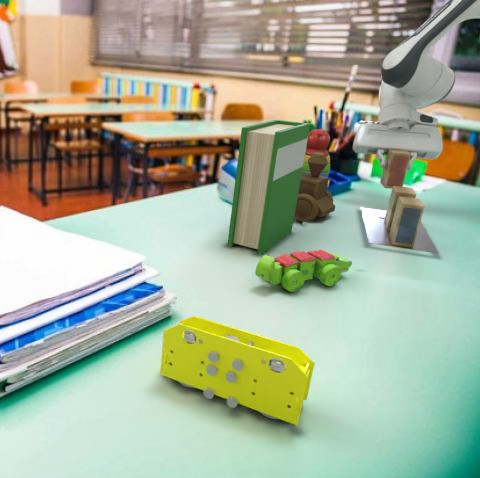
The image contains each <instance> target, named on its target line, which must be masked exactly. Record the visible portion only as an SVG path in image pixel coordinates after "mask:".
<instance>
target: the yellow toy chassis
mask: <svg viewBox="0 0 480 478" xmlns="http://www.w3.org/2000/svg"><path fill="white" fill-rule="evenodd" d="M160 360H161V361H160V373H159V375H161V376H163V377H166V378H168V379H172V380H175V381H176V382H178V383H179V384H180V385H182V386H184V387H186V388H189V389H199V390H201V391H203V396H204V397H205V398H206V399H208V400H212V399H213V398H214V396H217V397H220V398H222V399H224V400H226V404H227V406H228V407H230V408H232V409H234V408H236V407H237V406H238V405H241V406H244V407H246V408H250V409H252V410H254V411H257V412H259V413H260V415H262V416H264V417H266V418H268V419H270V420H271V419H273V420H281V421H284V422H287V423H288V424H292V425H295V426H299V422H300V419H301V418H300V417H301V412H302V409H303V405H304V401H307V400H308V396H309V391H310V385H311V381H312V377H313V372H314V367H315V362H314V360H313V359H312V358H311V357H310V356H308V354H306V353H305V351H303V350H302V348H300V346H296V345H293V344H289V343H286V342H282V341H280V340H277V339H273V338H270V337H265V336H262V335H259V334H256V333H253V332H250V331H246V330H243V329H240V328H236V327H233V326H230V325H227V324H223V323H219V322H217V321H214V320H210V319H206V318H204V317H200V316H197V315H194V316H191V317H187V318H185V319H181V320H179V322H178V324H175V325H173V326H170V327H168V328H166V329H164V330H163V336H162V348H161V359H160Z"/></svg>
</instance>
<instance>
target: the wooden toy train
mask: <svg viewBox="0 0 480 478" xmlns="http://www.w3.org/2000/svg"><path fill="white" fill-rule="evenodd" d="M307 161H308V165H309V168H310V172H311V174H308V173H303V172H302V174H301V180H300V186H299V192H298V198H297V203H296V209H295V215H294V220H295V221H297V222H300V223H304V222H306V223H310V222H313V221H314V220H316V218H317V217H319V218H320V217H321V218H323V217H325V216H326V215H329V214H331V213H333V212H334V211H335V209H336V205H335V203H334V198H333V195H332V193H331V192H330V191H329V190H328V186H329V179H330V178H329V177H328V178H326V177H322V176H319V175H320V174H321V173H322V171H323V170H324V168H325V167H326V165H327V164H328V160H327V158H326V156H325V154H324V153H314V154H313V155H312V156H311V157H310V158H309V159H308V160H307Z"/></svg>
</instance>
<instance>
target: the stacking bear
mask: <svg viewBox="0 0 480 478" xmlns="http://www.w3.org/2000/svg"><path fill="white" fill-rule="evenodd" d="M330 141H331V136H330V134H329V132H327V131H326V130H323V129H322V128H319V129H317V128H316V129H312V130H309V134H308V140H307V146H306V151H305V157H304V163H303V169H302V172H303V173H308V174H311V172H310V168H309V165H308V161H307V160H308V159H309V158H310V157H311V156H312V155H313V154H314V153H324V154H325V156H326V158H327V160H328V164H327V165H326V167H325V168H324V170H323V171H322V173H321V174H320V175H319V176H322V177H326V178H329V176H330V171H331V156H330V154H329V152H328V150H327V148H328V147H329V145H330Z"/></svg>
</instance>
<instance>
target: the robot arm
mask: <svg viewBox="0 0 480 478" xmlns="http://www.w3.org/2000/svg"><path fill="white" fill-rule="evenodd" d="M472 19H480V0H447V2H446V3H445V4H443V6H441V7H440V8H439V9H438V10H437V11H436V12H435V13H434V14H433V15H431V16H430V17H429V18H428V19H427V20H426V21H425V22H424V23H423V24H421V26H420V27H418V28H417V29H416V30H415V31H414V32H413V33H412V34H410V36H408V37H407V38H406V39H405V40H403V41H402V42H401V43H399V44H398V45H396V46H395V47H394V48H392V49H391V50H390V51H389V52H387V54H386V55H385V56H384V57H383V60H382V61H381V65H380V77H381V80H382V81H381V83H380V86H379V92H378V107H379V110H378V114H377V121H366V120H360V121H358V122H356V123H354V125H353V130H352V131H353V134H354V139H353V143H352V151H353V152H354V153H355V154H366V155H375V159H376V160H377V162H378V163H379V169H383V168H385V169H386V168H387V167H388V160H387V159H386V157H385V156H386V155H387V151H388V149H394V150H406V151H408V152H409V153H410V154H411V156H410V160H409V164H408V168H407V171H408V172H410V171H412V168H413V162H415V160H416V159H421V160H422V159H424V160H436V159H438V157H440V155H441V154H442V153H443V150H444V143H443V137H442V136H443V135H442V132H441V130H440V129H439V128H438V127H437V125H438V123H439V119H438V118H437V117H435V116H432V115H428V114H427V113H422V112H421V111H418V110H421V109H424V108H428V107H430V106H432V105H434V104H436V103H439V102H441V101H442V100H444V99H446V98H447V97H448V96H449V95H450V94H451V92H452V90H453V88H454V85H455V83H456V72H455V71H454V70H453V69H451V68H450V67H449V66H447V65H446V64H445V63H443V62H442V61H440V60H437V59H436V58H435V57H433V56H431V55H430V54H428V51H429V50H430V49H431V48H432V47H433V46H435V45H436V44H437V43H438V42H439V41H440V40H441V39H443V38H444V37H445V36H446V35H447V34H448V33H449V32H450V31H452V30H453V29H454V28H455V27H456V26H457V25H459V24H460V23H462V22H464V21H467V20H472Z"/></svg>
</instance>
